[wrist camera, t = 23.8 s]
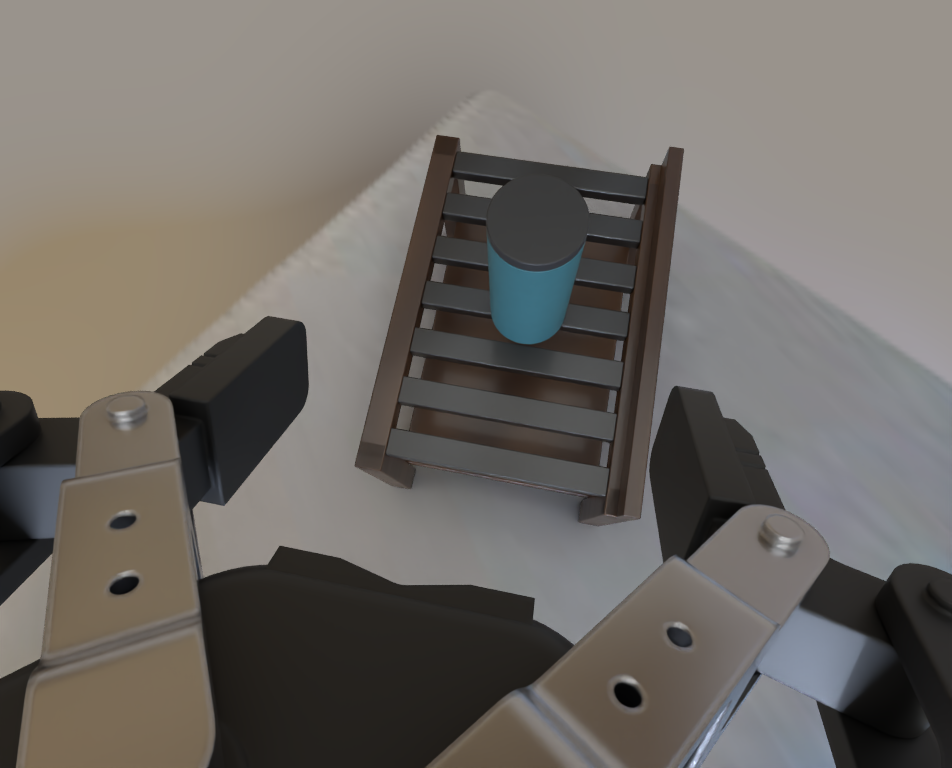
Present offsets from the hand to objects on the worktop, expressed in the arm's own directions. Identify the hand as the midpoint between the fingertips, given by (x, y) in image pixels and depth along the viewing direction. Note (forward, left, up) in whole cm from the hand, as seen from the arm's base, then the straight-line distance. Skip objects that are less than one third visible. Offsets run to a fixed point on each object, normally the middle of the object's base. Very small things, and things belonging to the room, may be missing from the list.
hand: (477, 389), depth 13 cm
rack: (0, +9, -27) cm, 28 cm away
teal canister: (0, +9, -17) cm, 19 cm away
